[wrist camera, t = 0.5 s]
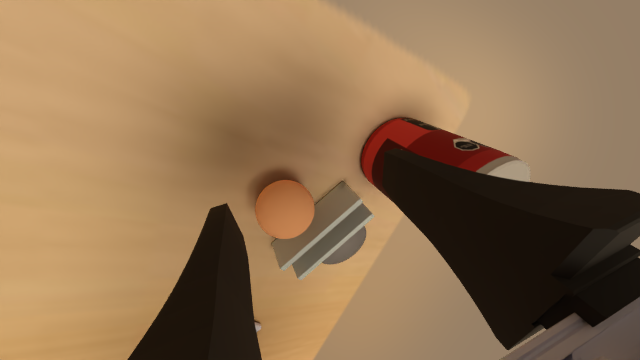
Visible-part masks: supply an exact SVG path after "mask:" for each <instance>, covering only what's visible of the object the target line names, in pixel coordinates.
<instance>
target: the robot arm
mask: <svg viewBox="0 0 640 360" xmlns="http://www.w3.org/2000/svg"><path fill="white" fill-rule="evenodd" d="M382 187H383V188H384V190H385V191H386V192H387V194H388V195H389V197H390V198H391V199H392V201H393V202H394V203H395V204H396V205H397V206H398V208H399V209H400V210H401V211H402V212H403V213H404V214H405V215H406V216H407V217H408V218H409V219H410V220H411V221H412V222H413V223H414V224H415V225H416V227H417V228H419V230H420V231H421V232H422V233H423V234H424V235H425V236H426V237H427V238H428V239H429V241H430V242H431V243H432V244H433V245H434V247H435V248H436V249H437V250H438V252H439V253H440V254H441V256H442V257H443V258H444V259H445V261H446V262H447V263H448V265H449V266H450V267H451V269H452V270H453V272H454V273H455V274H456V276H457V277H458V278H459V280H460V281H461V283H462V284H463V286H464V287H465V289H466V290H467V292H468V293H469V295H470V296H471V298H472V299H473V301H474V302H475V304H476V305H477V307H478V309H479V310H480V312H481V313H482V315H483V317H484V318H485V320H486V321H487V323H488V325H489V326H490V328H491V330H492V331H493V333H494V335H495V337H496V338H497V339H498V340H499V341H500V343H502V345H503V346H504V347H505V348H506V349H507V350H510V349H511V348H513V347H514V346H516V345H517V344H519V343H520V342H522V341H524V340H525V339H527V338H529V337H530V336H532V335H534V334H535V333H537V332H538V331H540V330H541V329H543V328H545V329H546V331H544V332H543V333H541V334H539V335H538V336H536V337H535V338H533V339H532V340H530V341H529V342H527V343H525V344H524V345H522V346H521V347H519V348H517V349H516V350H514V351H513V352H511V353H509V354H508V355H506V356H505V357H503V358H501V359H500V360H640V258H638V256H640V250H639V249H637V248H635V247H634V246H632V245H630V244H631V243H632V242H633V241H634V240H636V239H637V238H638V237H639V236H640V194H639V193H637V192H633V191H630V190H615V189H598V188H579V187H569V186H558V185H548V184H540V183H533V182H526V181H519V180H513V179H507V178H502V177H497V176H492V175H487V174H482V173H478V172H474V171H470V170H467V169H463V168H459V167H456V166H452V165H449V164H445V163H442V162H439V161H436V160H433V159H430V158H427V157H423V156H420V155H417V154H414V153H411V152H408V151H404V150H401V149H397V148H395V149H392V150H389V151H386V152H384V164H383V179H382ZM260 329H261V324H259V323H256V322H254V315H253V306H252V295H251V284H250V273H249V263H248V255H247V251H246V246H245V242H244V237H243V235H242V233H241V231H240V229H239V227H238V225H237V223H236V221H235V219H234V217H233V215H232V213H231V211H230V209H229V207H228V205H227V203H226V204H223V205H220V206H216V207H213V208H211V209H210V211H209V213H208V216H207V218H206V221H205V224H204V226H203V229H202V231H201V233H200V236H199V238H198V240H197V243H196V245H195V247H194V249H193V252H192V254H191V256H190V258H189V260H188V262H187V264H186V266H185V268H184V270H183V272H182V274H181V276H180V278H179V280H178V282H177V284H176V285H175V287H174V289H173V291H172V292H171V294H170V296H169V298H168V299H167V301H166V303H165V304H164V306H163V308H162V309H161V311H160V312H159V314H158V316H157V317H156V319H155V320H154V322H153V323H152V325H151V326H150V328H149V329H148V331H147V332H146V334H145V335H144V337H143V338H142V340H141V341H140V342H139V344H138V345H137V347H136V348H135V350H134V351H133V353H132V354H131V356H130V357H129V358H128V360H262V358H261V353H260V349H259V343H258V338H257V333H256V332H258V331H259V330H260Z"/></svg>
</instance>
